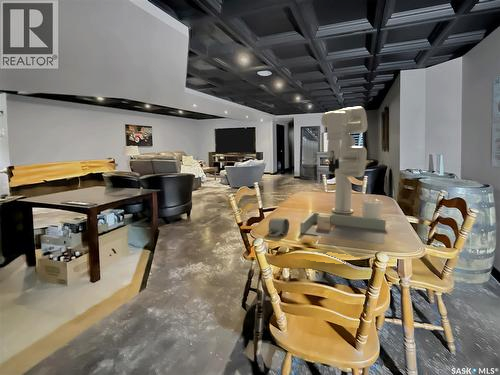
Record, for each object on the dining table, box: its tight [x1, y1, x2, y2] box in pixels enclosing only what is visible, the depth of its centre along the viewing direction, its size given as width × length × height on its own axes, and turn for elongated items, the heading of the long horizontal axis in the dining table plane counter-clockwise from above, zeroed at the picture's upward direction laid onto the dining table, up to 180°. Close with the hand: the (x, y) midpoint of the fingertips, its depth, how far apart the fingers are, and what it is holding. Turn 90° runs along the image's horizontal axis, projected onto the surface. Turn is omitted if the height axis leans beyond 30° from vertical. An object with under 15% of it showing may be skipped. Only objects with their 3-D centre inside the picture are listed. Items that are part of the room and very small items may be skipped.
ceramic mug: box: [267, 217, 290, 238], centre depth 132 cm, size 11×8×8 cm
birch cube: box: [317, 212, 333, 229], centre depth 140 cm, size 6×6×6 cm
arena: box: [299, 211, 387, 245], centre depth 134 cm, size 22×36×6 cm, turn 63°
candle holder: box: [361, 199, 384, 219], centre depth 146 cm, size 10×10×12 cm
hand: (333, 170), depth 145 cm, fingers open, 9 cm apart
